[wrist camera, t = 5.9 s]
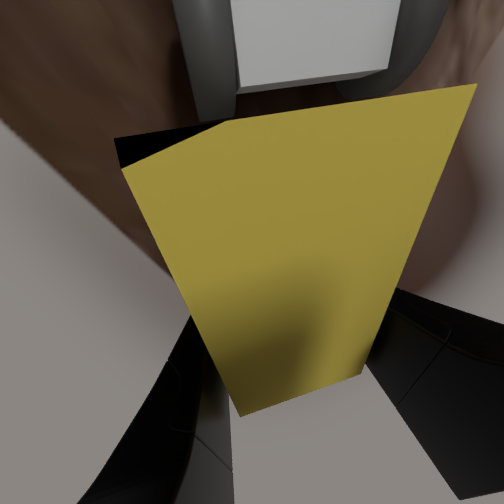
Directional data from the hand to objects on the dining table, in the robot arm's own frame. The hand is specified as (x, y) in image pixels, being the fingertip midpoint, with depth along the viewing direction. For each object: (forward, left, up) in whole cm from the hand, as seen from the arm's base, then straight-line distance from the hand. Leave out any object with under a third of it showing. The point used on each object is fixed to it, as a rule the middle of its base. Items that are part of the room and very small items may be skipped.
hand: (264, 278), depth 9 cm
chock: (0, -2, -1) cm, 2 cm away
